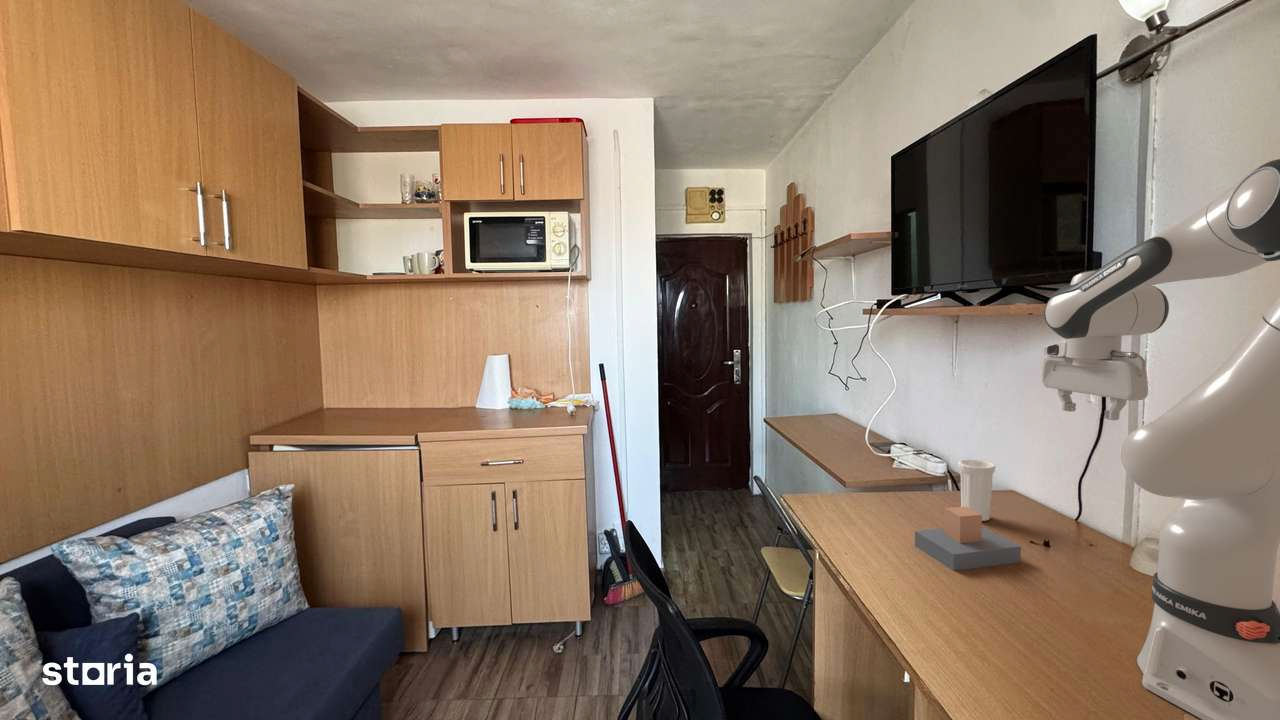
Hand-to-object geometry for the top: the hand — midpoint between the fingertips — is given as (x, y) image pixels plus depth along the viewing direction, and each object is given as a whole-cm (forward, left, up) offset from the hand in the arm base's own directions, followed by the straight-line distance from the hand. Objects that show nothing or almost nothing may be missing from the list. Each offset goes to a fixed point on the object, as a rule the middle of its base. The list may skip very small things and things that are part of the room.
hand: (1089, 415), depth 111 cm
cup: (+24, +6, -31) cm, 40 cm away
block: (+7, +23, -28) cm, 36 cm away
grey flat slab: (+6, +22, -32) cm, 39 cm away
